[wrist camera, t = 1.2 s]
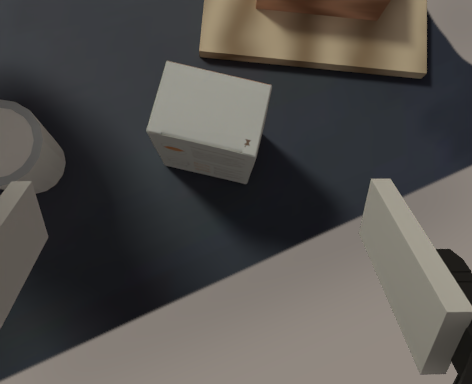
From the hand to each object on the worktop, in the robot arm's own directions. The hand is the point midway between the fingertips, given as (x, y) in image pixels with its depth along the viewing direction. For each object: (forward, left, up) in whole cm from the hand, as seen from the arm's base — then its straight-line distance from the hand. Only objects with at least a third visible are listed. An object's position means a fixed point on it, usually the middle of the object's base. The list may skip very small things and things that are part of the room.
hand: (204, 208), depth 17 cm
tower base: (+8, +29, -22) cm, 37 cm away
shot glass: (-17, +6, -22) cm, 28 cm away
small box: (-1, +9, -22) cm, 24 cm away
